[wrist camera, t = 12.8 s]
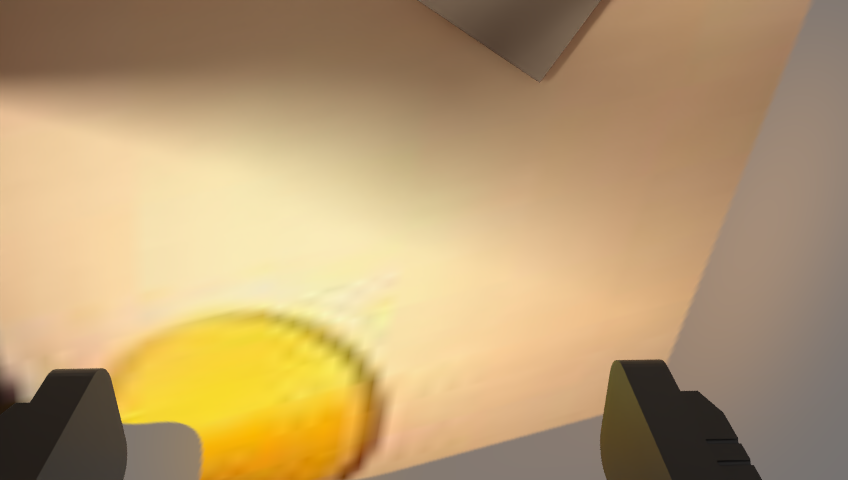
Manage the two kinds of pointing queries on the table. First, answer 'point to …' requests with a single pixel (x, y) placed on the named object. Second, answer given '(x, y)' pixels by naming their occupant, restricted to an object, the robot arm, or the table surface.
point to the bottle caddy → (519, 27)
